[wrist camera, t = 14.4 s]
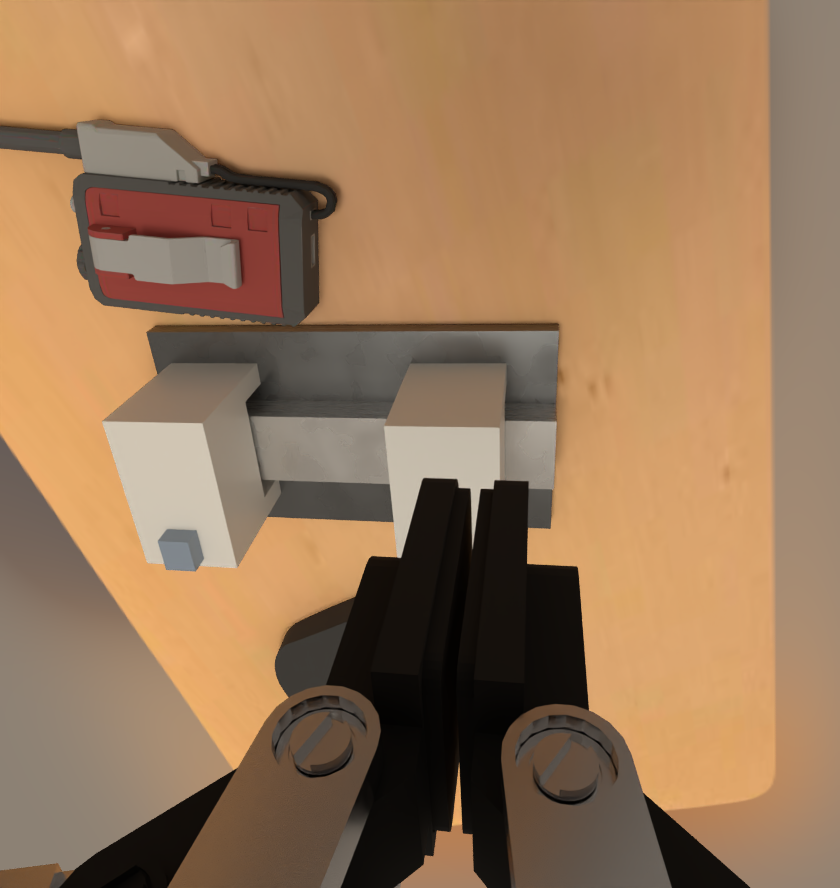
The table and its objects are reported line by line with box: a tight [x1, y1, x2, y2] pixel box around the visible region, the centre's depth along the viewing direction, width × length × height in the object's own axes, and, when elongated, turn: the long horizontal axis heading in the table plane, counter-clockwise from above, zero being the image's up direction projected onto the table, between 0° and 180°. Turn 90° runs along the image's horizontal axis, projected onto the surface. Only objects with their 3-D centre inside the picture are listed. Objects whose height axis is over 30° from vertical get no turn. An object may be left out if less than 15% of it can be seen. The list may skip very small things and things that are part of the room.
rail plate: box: [146, 324, 559, 529], centre depth 38 cm, size 12×22×3 cm, turn 93°
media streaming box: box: [275, 598, 355, 697], centre depth 48 cm, size 15×15×3 cm
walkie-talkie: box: [0, 120, 337, 327], centre depth 34 cm, size 9×4×20 cm
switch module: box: [384, 363, 507, 558], centre depth 34 cm, size 9×5×8 cm, turn 4°
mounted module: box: [102, 363, 281, 571], centre depth 36 cm, size 8×5×8 cm, turn 3°
